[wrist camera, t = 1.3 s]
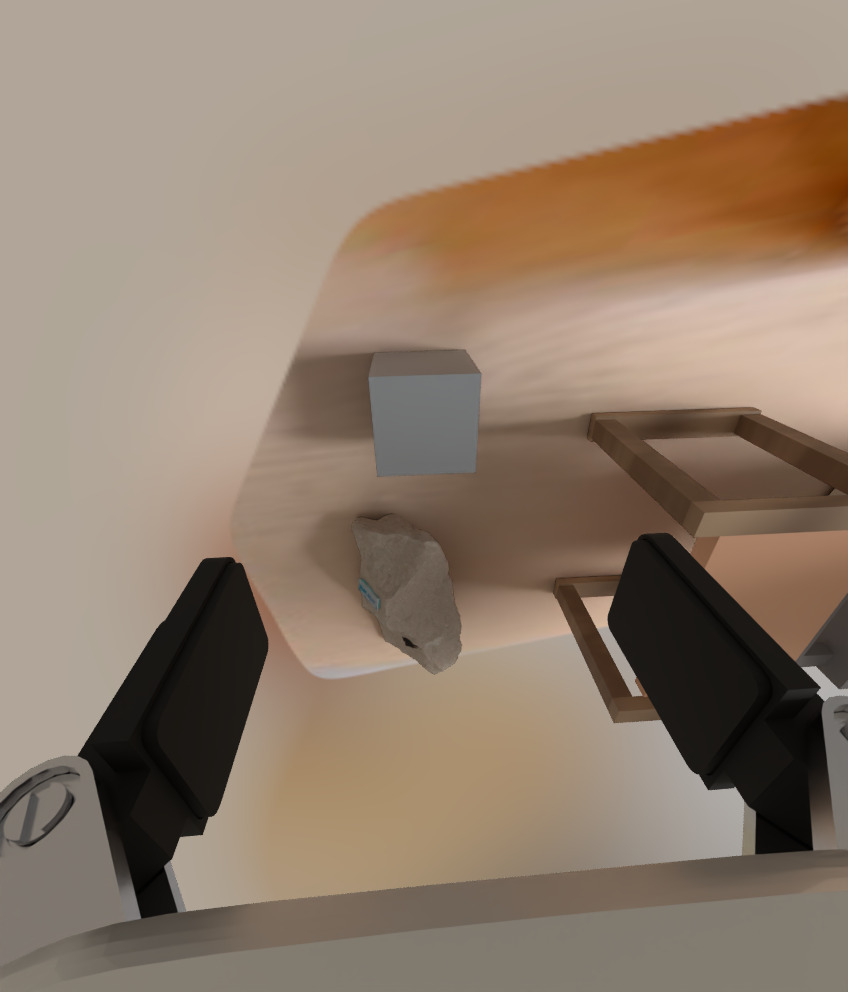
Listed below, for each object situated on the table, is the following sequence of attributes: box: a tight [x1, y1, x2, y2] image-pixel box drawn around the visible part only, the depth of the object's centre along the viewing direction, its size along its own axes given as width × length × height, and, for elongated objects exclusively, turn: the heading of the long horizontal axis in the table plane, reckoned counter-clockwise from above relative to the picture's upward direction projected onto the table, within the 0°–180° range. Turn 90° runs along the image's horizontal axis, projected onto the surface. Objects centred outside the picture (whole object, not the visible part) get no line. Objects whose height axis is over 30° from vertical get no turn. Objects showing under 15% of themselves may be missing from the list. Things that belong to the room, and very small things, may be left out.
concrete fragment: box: [351, 514, 462, 674], centre depth 28 cm, size 7×14×6 cm, turn 5°
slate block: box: [368, 350, 481, 477], centre depth 21 cm, size 5×5×5 cm
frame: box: [553, 408, 848, 723], centre depth 24 cm, size 10×15×10 cm
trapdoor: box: [635, 530, 848, 697], centre depth 20 cm, size 14×12×3 cm
